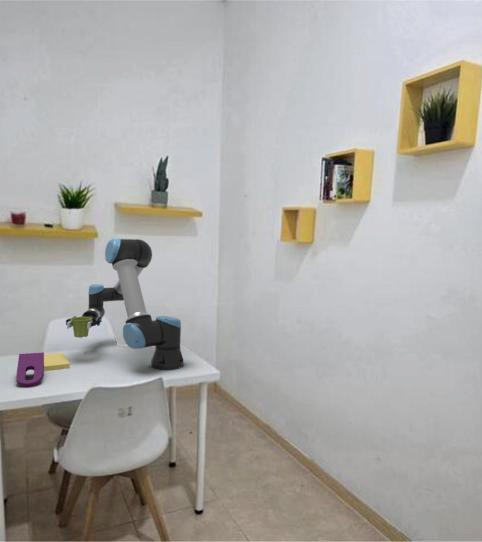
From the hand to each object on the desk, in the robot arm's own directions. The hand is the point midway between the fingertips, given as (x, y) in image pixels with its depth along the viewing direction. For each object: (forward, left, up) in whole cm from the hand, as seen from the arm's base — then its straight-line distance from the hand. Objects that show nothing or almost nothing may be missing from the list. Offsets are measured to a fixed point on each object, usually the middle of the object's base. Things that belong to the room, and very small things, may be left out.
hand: (78, 325), depth 195 cm
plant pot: (+4, -2, -6) cm, 8 cm away
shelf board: (+6, +10, -18) cm, 22 cm away
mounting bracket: (-15, +21, -19) cm, 32 cm away
